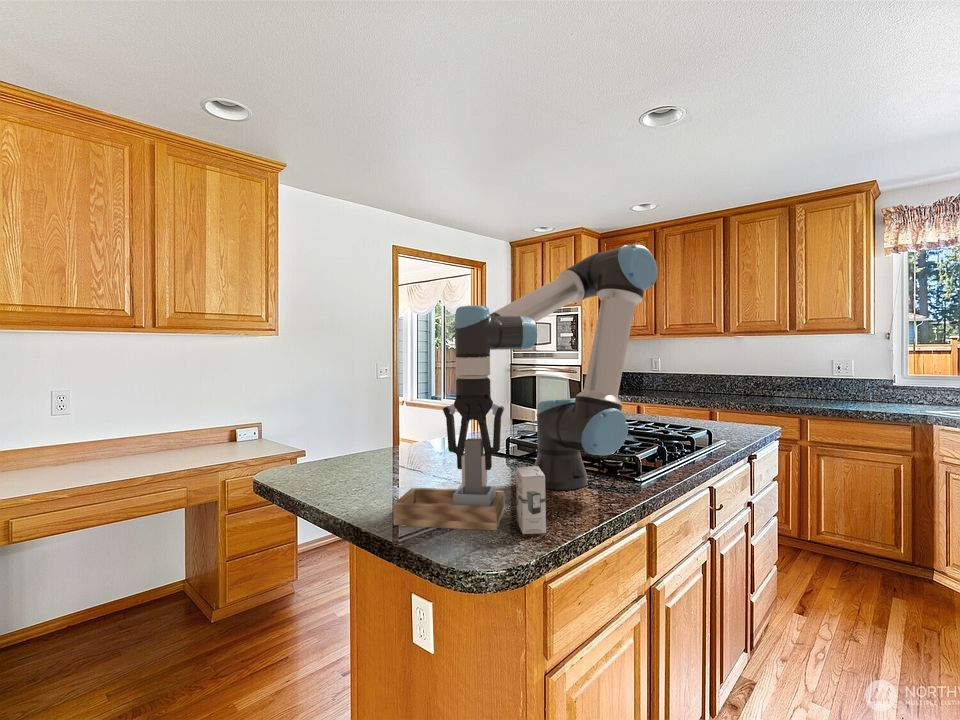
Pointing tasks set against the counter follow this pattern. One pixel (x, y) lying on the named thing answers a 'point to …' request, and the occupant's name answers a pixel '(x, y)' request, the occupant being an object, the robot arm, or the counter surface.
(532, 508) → the ink box
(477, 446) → the grey square-based post
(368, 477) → the counter surface
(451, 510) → the bay
